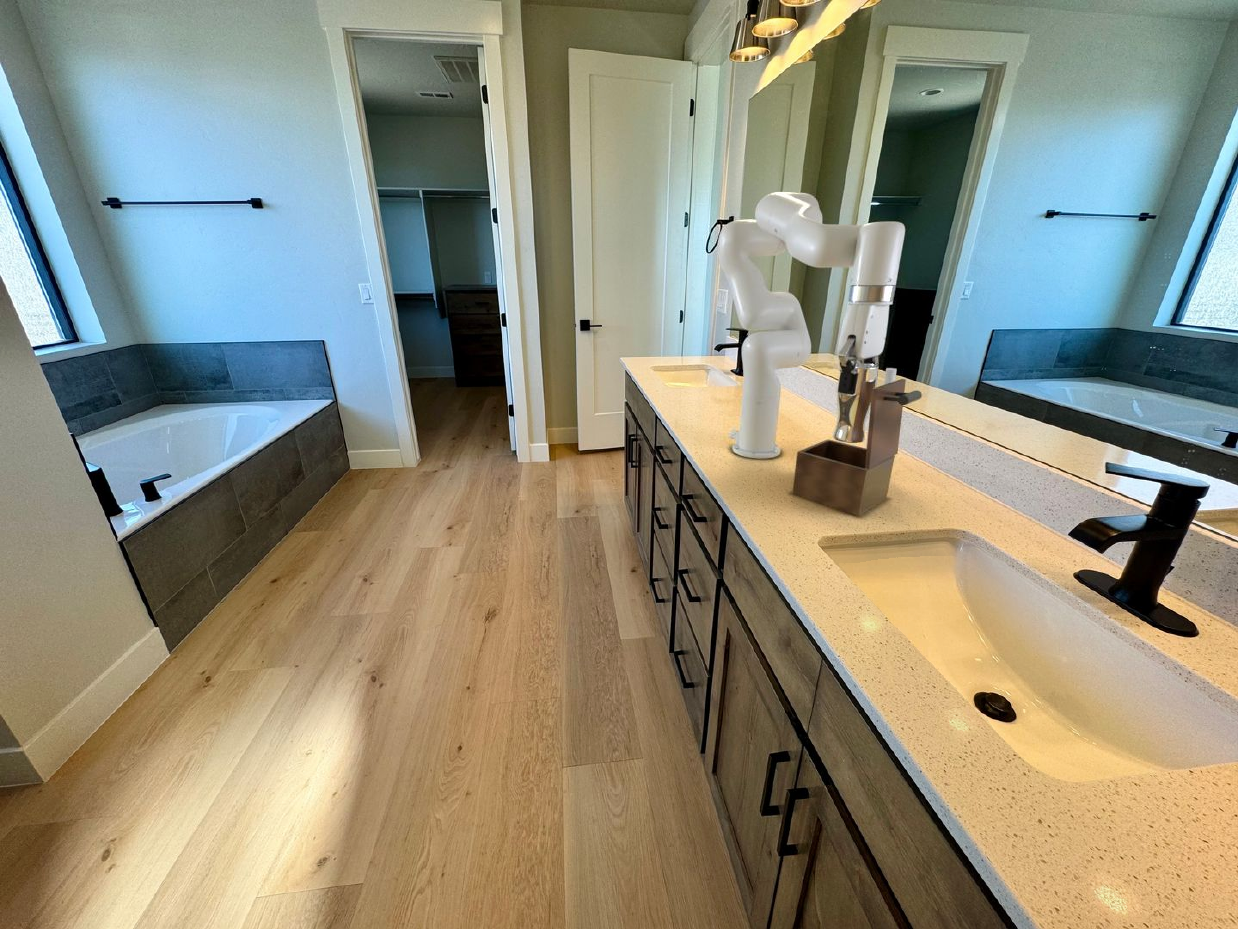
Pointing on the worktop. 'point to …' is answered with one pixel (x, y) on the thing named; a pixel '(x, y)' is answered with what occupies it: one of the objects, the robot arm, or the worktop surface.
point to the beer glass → (855, 406)
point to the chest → (841, 477)
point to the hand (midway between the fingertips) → (855, 389)
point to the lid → (886, 420)
